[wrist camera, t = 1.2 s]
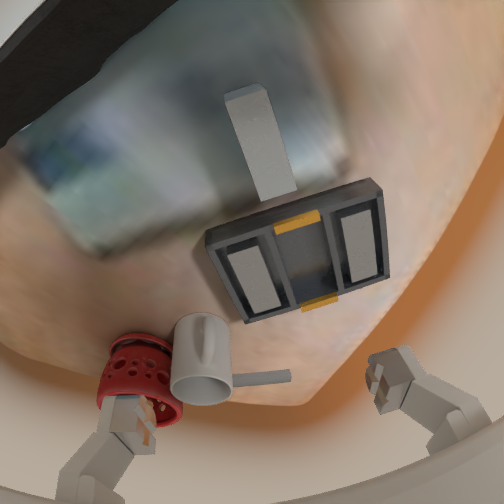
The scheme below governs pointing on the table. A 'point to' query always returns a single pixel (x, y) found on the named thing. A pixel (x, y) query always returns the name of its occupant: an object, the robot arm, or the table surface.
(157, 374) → the plant pot
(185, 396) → the mug
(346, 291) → the rack
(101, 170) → the table surface
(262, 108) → the grey rectangular block
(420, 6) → the table surface
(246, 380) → the half round rod
